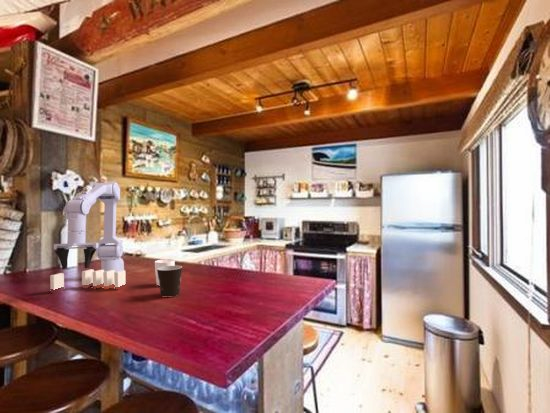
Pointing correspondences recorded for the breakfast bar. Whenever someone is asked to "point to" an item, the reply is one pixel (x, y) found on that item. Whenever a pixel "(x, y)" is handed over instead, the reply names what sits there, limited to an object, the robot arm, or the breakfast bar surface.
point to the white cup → (161, 264)
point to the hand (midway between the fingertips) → (75, 268)
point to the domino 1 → (57, 281)
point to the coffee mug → (169, 280)
